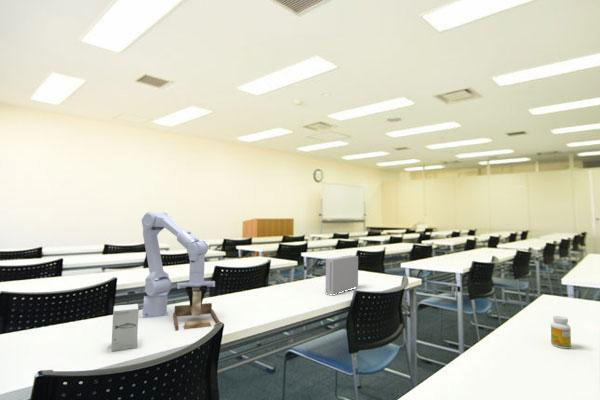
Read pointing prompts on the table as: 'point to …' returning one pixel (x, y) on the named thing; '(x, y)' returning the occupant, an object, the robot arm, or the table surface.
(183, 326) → the lower oak offcut
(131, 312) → the supplement box
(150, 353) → the table surface
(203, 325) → the upper oak offcut
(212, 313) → the walnut rack
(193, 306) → the light wood block
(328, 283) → the game console
